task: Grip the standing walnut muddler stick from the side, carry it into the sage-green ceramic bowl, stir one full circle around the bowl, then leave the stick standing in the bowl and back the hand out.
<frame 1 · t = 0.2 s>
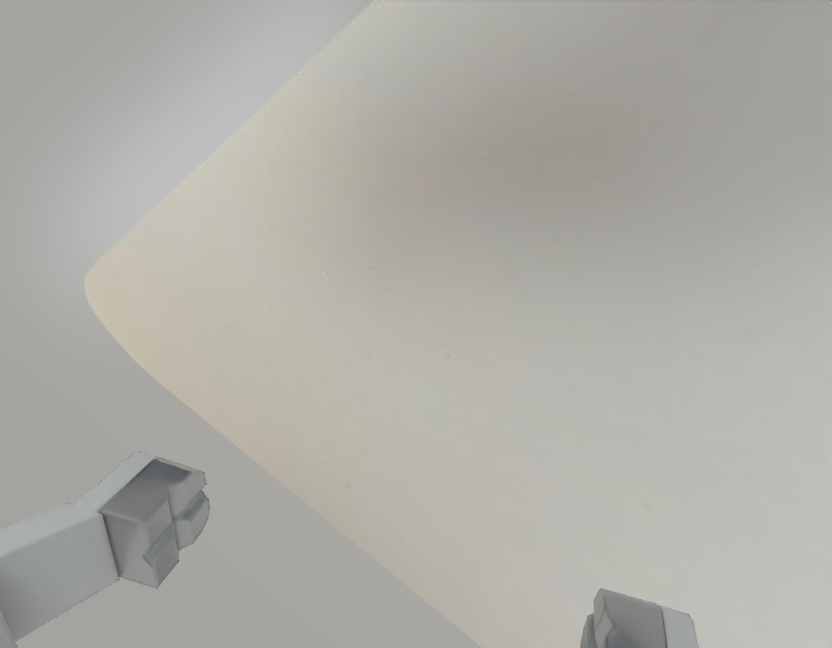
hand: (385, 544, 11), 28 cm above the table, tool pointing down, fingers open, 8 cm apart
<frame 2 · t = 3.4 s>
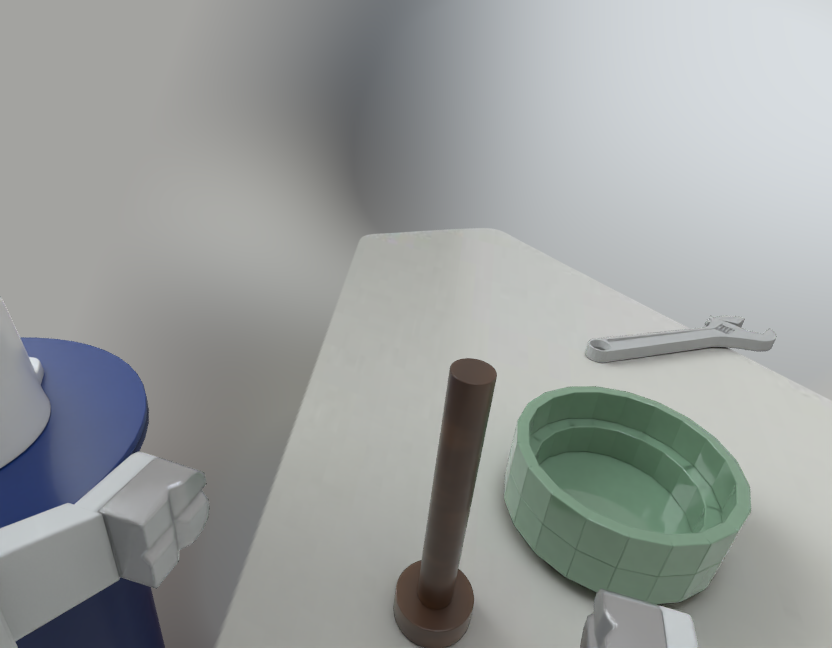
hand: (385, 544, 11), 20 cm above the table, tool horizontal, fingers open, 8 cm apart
adjustable wrench: (675, 344, 62), on the table
muddler: (431, 610, 30), on the table
bowl: (604, 514, 38), on the table
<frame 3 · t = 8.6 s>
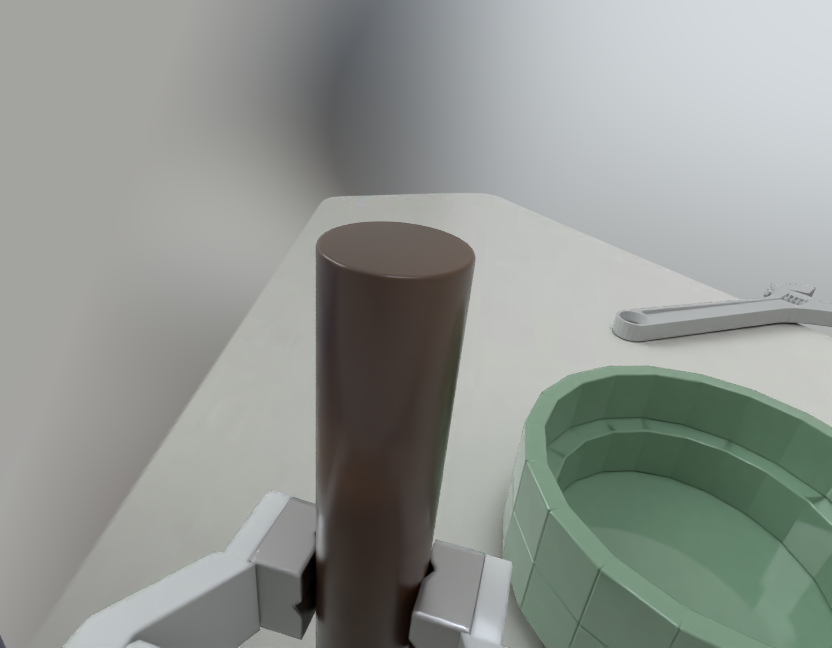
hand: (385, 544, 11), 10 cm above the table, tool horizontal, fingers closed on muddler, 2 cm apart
adjustable wrench: (730, 319, 46), on the table
bowl: (674, 582, 22), on the table
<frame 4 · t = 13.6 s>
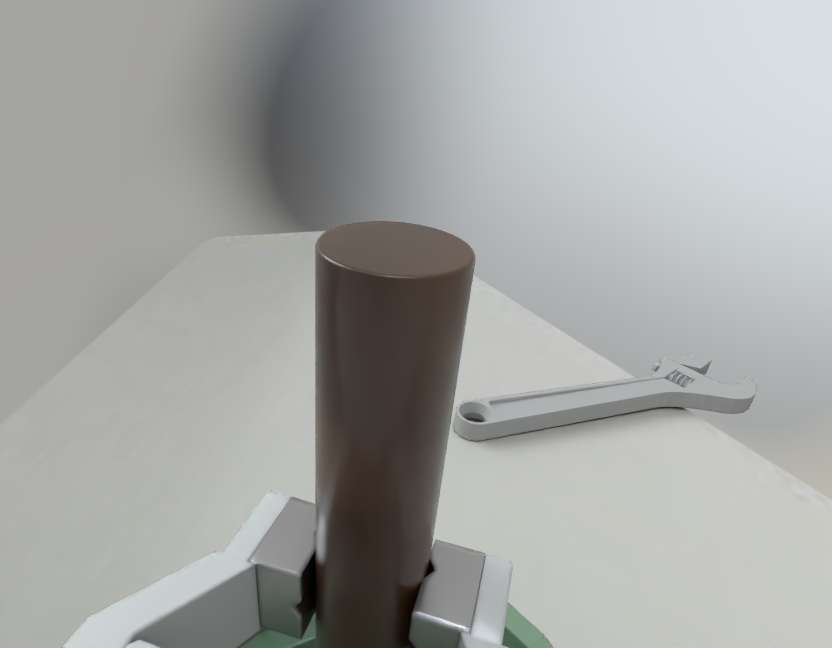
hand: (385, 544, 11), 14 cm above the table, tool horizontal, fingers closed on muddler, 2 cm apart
adjustable wrench: (604, 403, 41), on the table
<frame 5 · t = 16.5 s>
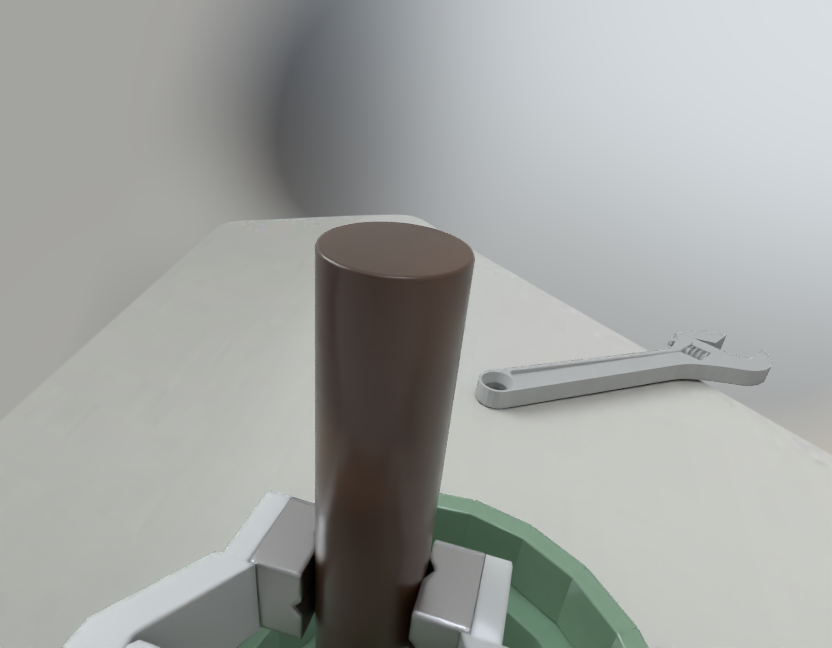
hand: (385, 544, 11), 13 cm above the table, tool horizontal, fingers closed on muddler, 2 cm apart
adjustable wrench: (621, 375, 41), on the table
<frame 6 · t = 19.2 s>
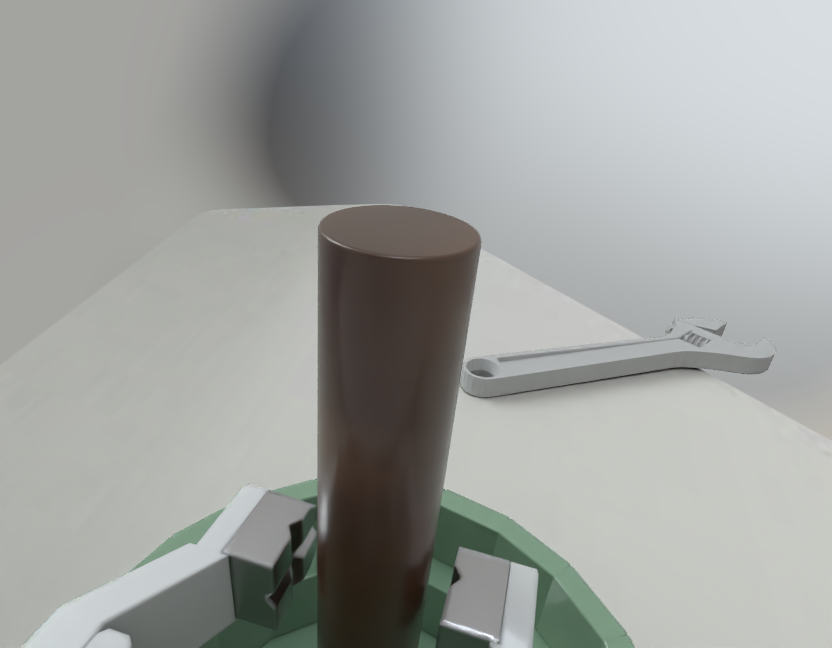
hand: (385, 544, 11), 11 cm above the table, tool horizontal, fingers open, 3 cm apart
adjustable wrench: (616, 364, 39), on the table
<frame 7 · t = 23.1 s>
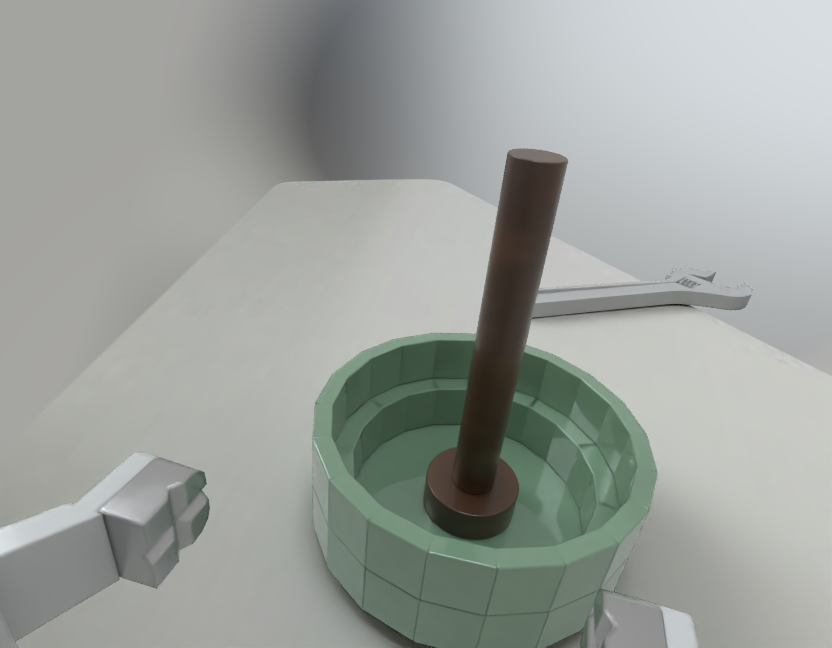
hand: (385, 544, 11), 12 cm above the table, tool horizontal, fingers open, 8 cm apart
adjustable wrench: (625, 301, 50), on the table
muddler: (468, 502, 26), point 1 cm above the table, touching bowl
bowl: (463, 511, 26), on the table
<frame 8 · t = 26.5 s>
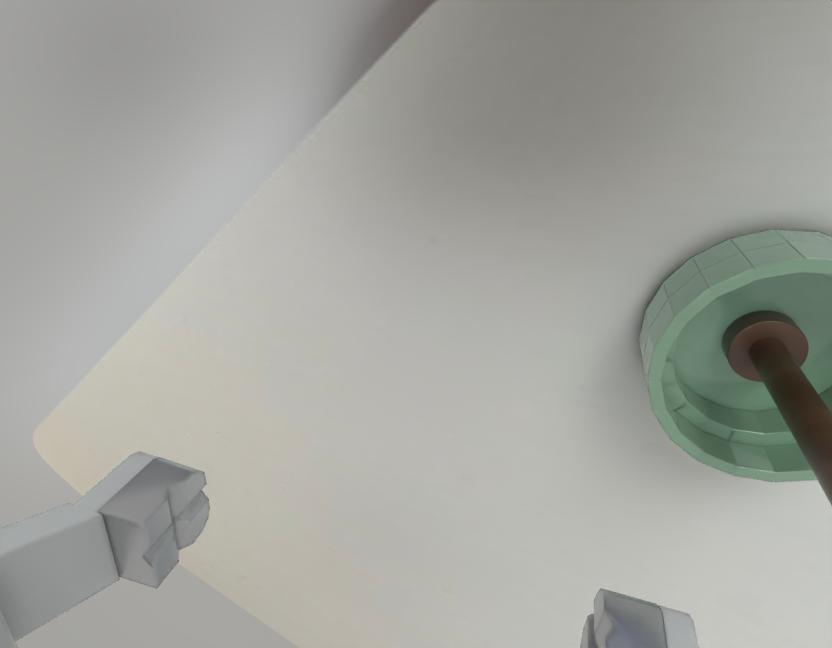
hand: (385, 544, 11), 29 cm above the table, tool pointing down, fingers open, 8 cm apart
muddler: (759, 340, 35), point 1 cm above the table, touching bowl
bowl: (757, 333, 35), on the table
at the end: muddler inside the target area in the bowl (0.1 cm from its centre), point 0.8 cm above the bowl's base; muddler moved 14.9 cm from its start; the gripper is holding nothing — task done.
